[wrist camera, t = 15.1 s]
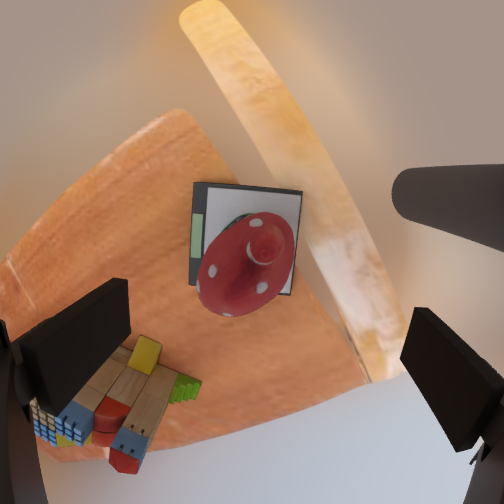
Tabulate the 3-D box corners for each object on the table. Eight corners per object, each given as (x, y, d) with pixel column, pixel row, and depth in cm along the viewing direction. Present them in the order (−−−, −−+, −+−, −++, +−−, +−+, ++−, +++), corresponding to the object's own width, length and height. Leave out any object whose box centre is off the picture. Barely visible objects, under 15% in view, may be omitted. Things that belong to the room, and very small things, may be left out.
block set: (43, 352, 43) (-22, 409, 24) (46, 284, 40) (-40, 334, 21) (184, 423, 44) (153, 515, 25) (209, 363, 41) (175, 469, 22)
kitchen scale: (300, 190, 35) (303, 191, 32) (289, 289, 38) (290, 297, 35) (198, 181, 35) (192, 181, 32) (193, 279, 38) (187, 286, 35)
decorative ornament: (269, 193, 32) (269, 201, 18) (304, 242, 33) (330, 288, 19) (200, 243, 34) (152, 288, 19) (236, 289, 35) (214, 361, 20)
